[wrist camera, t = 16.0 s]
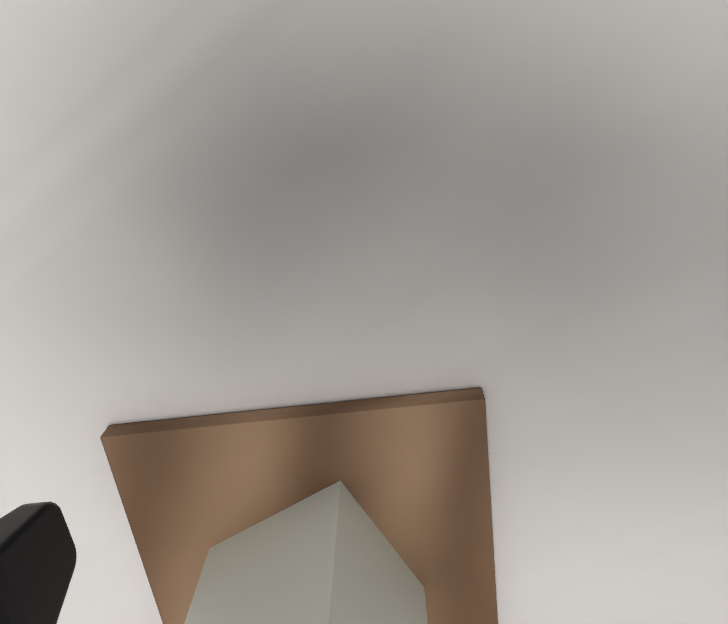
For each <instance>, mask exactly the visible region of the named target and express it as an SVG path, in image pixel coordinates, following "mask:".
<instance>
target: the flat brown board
mask: <svg viewBox="0 0 728 624" xmlns="http://www.w3.org/2000/svg"><path fill="white" fill-rule="evenodd" d="M100 438H101V441H102V444H103V447H104V450H105V453H106V456H107V459H108V462H109V465H110V468H111V471H112V474H113V477H114V480H115V483H116V486H117V488H118V491H119V494H120V497H121V500H122V503H123V506H124V509H125V512H126V515H127V518H128V521H129V524H130V527H131V530H132V533H133V536H134V539H135V542H136V545H137V548H138V551H139V554H140V557H141V560H142V563H143V566H144V569H145V571H146V574H147V577H148V580H149V583H150V586H151V589H152V592H153V595H154V598H155V601H156V604H157V607H158V610H159V613H160V616H161V619H162V622H163V624H184V623H185V620H186V617H187V614H188V611H189V608H190V605H191V602H192V599H193V596H194V593H195V590H196V587H197V584H198V581H199V579H200V576H201V573H202V570H203V567H204V564H205V561H206V558H207V555H208V552H209V549H210V548H211V547H213V546H215V545H217V544H219V543H221V542H223V541H225V540H226V539H228V538H230V537H232V536H234V535H236V534H238V533H240V532H242V531H244V530H246V529H248V528H250V527H252V526H254V525H255V524H257V523H259V522H261V521H263V520H265V519H267V518H269V517H271V516H273V515H275V514H277V513H279V512H281V511H282V510H284V509H286V508H288V507H290V506H292V505H294V504H296V503H298V502H300V501H302V500H304V499H306V498H308V497H309V496H311V495H313V494H315V493H317V492H319V491H321V490H323V489H325V488H327V487H329V486H331V485H333V484H335V483H336V482H338V481H340V480H341V482H342V483H343V484H344V486H345V487H346V488H347V489H348V491H349V492H350V493H351V494H352V496H353V497H354V498H355V500H356V501H357V502H358V503H359V505H360V506H361V507H362V509H363V510H364V511H365V512H366V514H367V515H368V516H369V517H370V519H371V520H372V521H373V523H374V524H375V525H376V526H377V528H378V529H379V530H380V531H381V533H382V534H383V535H384V537H385V538H386V539H387V540H388V542H389V543H390V544H391V545H392V547H393V548H394V549H395V551H396V552H397V553H398V554H399V556H400V557H401V558H402V559H403V561H404V562H405V563H406V565H407V566H408V567H409V568H410V570H411V571H412V572H413V574H414V575H415V576H416V577H417V579H418V580H419V581H420V582H421V584H422V585H423V586H424V591H425V601H426V612H427V622H428V624H498V618H497V601H496V583H495V566H494V548H493V531H492V513H491V496H490V479H489V461H488V444H487V426H486V409H485V398H484V395H483V392H482V389H481V388H474V389H464V390H454V391H444V392H434V393H424V394H414V395H405V396H395V397H385V398H375V399H365V400H355V401H345V402H335V403H325V404H315V405H306V406H296V407H286V408H276V409H266V410H256V411H246V412H236V413H226V414H216V415H207V416H197V417H187V418H177V419H167V420H157V421H147V422H137V423H127V424H118V425H109V426H108V427H107V429H106V430H105V432H104V433H103V434H102V436H101V437H100Z"/></svg>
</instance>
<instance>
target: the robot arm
mask: <svg viewBox="0 0 728 624" xmlns="http://www.w3.org/2000/svg"><path fill="white" fill-rule="evenodd" d="M75 564H76V548H75V545H74V542H73V540H72V537H71V535H70V532H69V529H68V527H67V524H66V522H65V519H64V517H63V514H62V511H61V509H60V507H59V506H58V505H57V504H55V503H53V502H40V503H30V504H24V505H22V506H20V507H18V508H16V509H15V510H13V511H11V512H10V513H8V514H7V515H5V516H3V517H2V518H0V624H56V623H57V620H58V617H59V614H60V611H61V608H62V605H63V602H64V599H65V596H66V593H67V590H68V587H69V584H70V581H71V578H72V575H73V572H74V568H75Z"/></svg>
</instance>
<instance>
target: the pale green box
mask: <svg viewBox="0 0 728 624" xmlns="http://www.w3.org/2000/svg"><path fill="white" fill-rule="evenodd" d="M184 624H428V622H427V612H426V601H425V591H424V586H423V585H422V584H421V582H420V581H419V580H418V579H417V577H416V576H415V575H414V574H413V572H412V571H411V570H410V568H409V567H408V566H407V565H406V563H405V562H404V561H403V559H402V558H401V557H400V556H399V554H398V553H397V552H396V551H395V549H394V548H393V547H392V545H391V544H390V543H389V542H388V540H387V539H386V538H385V537H384V535H383V534H382V533H381V531H380V530H379V529H378V528H377V526H376V525H375V524H374V523H373V521H372V520H371V519H370V517H369V516H368V515H367V514H366V512H365V511H364V510H363V509H362V507H361V506H360V505H359V503H358V502H357V501H356V500H355V498H354V497H353V496H352V494H351V493H350V492H349V491H348V489H347V488H346V487H345V486H344V484H343V483H342V482H341V480H340V481H338V482H336V483H335V484H333V485H331V486H329V487H327V488H325V489H323V490H321V491H319V492H317V493H315V494H313V495H311V496H309V497H308V498H306V499H304V500H302V501H300V502H298V503H296V504H294V505H292V506H290V507H288V508H286V509H284V510H282V511H281V512H279V513H277V514H275V515H273V516H271V517H269V518H267V519H265V520H263V521H261V522H259V523H257V524H255V525H254V526H252V527H250V528H248V529H246V530H244V531H242V532H240V533H238V534H236V535H234V536H232V537H230V538H228V539H226V540H225V541H223V542H221V543H219V544H217V545H215V546H213V547H211V548H210V549H209V552H208V555H207V558H206V561H205V564H204V567H203V570H202V573H201V576H200V579H199V581H198V584H197V587H196V590H195V593H194V596H193V599H192V602H191V605H190V608H189V611H188V614H187V617H186V620H185V623H184Z"/></svg>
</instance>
